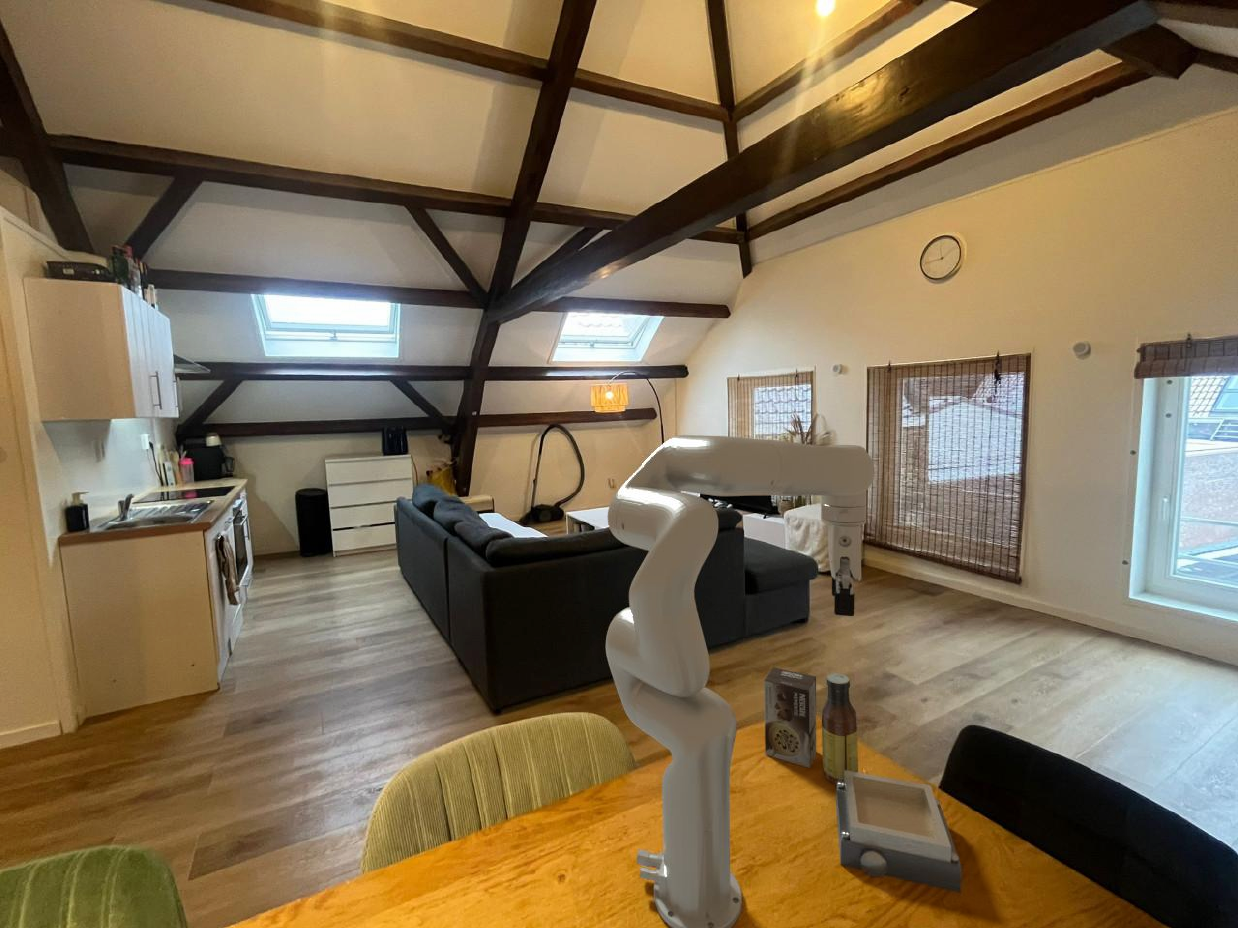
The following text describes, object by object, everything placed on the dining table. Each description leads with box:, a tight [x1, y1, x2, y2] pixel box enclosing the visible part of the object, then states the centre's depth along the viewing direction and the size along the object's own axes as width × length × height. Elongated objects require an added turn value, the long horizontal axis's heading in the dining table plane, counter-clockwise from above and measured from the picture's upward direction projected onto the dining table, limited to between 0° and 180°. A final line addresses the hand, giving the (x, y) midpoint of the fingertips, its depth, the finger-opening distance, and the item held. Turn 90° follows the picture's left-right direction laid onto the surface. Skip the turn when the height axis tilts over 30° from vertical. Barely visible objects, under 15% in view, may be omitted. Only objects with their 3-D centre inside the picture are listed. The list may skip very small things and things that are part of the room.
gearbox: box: [835, 770, 962, 894], centre depth 86 cm, size 16×15×6 cm
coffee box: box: [763, 667, 817, 769], centre depth 109 cm, size 9×6×16 cm
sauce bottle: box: [821, 672, 859, 785], centre depth 101 cm, size 6×6×20 cm
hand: (842, 605), depth 99 cm, fingers open, 9 cm apart
